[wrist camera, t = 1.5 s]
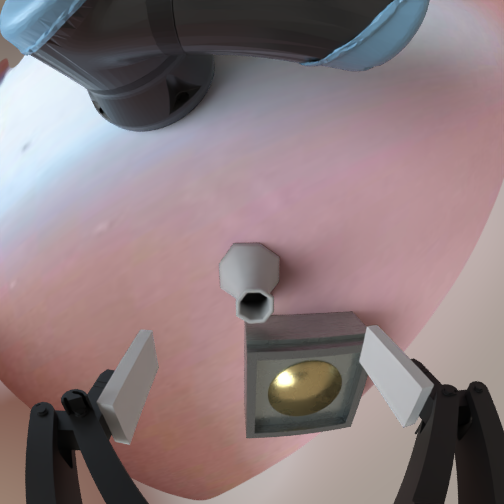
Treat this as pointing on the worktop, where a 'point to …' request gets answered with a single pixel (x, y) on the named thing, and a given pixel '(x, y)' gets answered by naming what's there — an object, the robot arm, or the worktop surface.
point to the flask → (250, 280)
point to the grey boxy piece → (302, 373)
